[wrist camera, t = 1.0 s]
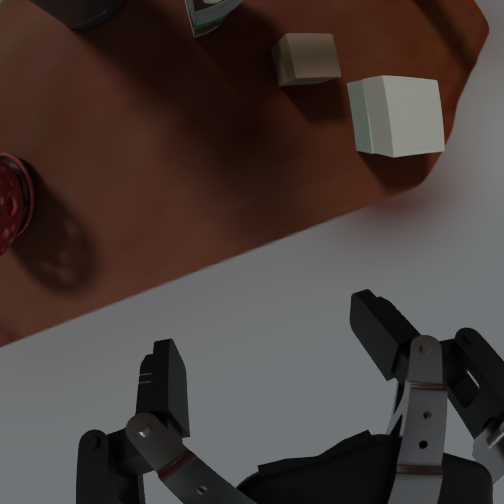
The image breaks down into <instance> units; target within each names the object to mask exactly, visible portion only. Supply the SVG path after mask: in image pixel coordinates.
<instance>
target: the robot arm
mask: <svg viewBox="0 0 504 504" xmlns="http://www.w3.org/2000/svg"><path fill="white" fill-rule="evenodd" d="M29 1H30V2H32V3H33V4H35V5H37V6H38V7H40V8H41V9H43V10H44V11H46V12H47V13H49V14H50V15H52V16H53V17H54V18H56V19H57V20H59V21H60V22H62V23H63V24H65V25H66V26H68V27H69V28H72V29H86V28H90V27H93V26H96V25H97V24H100V23H102V22H103V21H105V20H106V19H108V18H109V17H111V16H112V15H113V14H114V13H115V12H116V11H117V10H118V9H119V8H120V7H121V6H122V4H123V3H124V1H125V0H29ZM350 325H351V328H352V330H353V332H354V334H355V335H356V337H357V338H358V339H359V341H360V342H361V344H362V345H363V347H364V348H365V350H366V351H367V352H368V354H369V355H370V357H371V358H372V360H373V361H374V363H375V364H376V366H377V367H378V368H379V370H380V371H381V373H382V374H383V376H384V377H385V379H386V380H387V381H388V380H390V379H393V378H396V379H397V381H398V383H397V385H396V393H395V398H394V405H393V410H392V415H391V420H390V423H389V426H388V428H387V432H386V434H376V435H371V434H370V432H369V430H366V431H364V432H362V433H359V434H357V435H354V436H352V437H350V438H347V439H344V440H342V441H341V442H339V443H338V444H336V445H335V446H333V447H332V448H330V449H329V450H327V451H325V452H324V453H322V454H321V455H318V456H315V457H304V458H290V459H283V460H279V461H275V462H271V463H267V464H263V465H258V470H259V471H258V472H256V473H254V474H252V475H251V476H249V477H247V478H246V479H245V480H243V481H242V482H241V483H240V484H239V485H238V486H237V487H236V488H235V487H233V486H232V485H231V484H230V483H228V482H227V481H226V480H225V479H223V478H222V477H221V476H220V475H218V474H217V473H216V472H215V471H213V470H212V469H211V468H210V467H209V466H207V465H206V464H205V463H204V462H203V461H202V460H201V459H199V458H198V457H197V456H196V455H195V454H194V453H193V452H191V451H190V450H188V448H186V447H185V446H184V445H183V443H182V438H184V437H190V431H189V417H188V400H187V379H186V369H185V365H184V363H183V360H182V358H181V356H180V355H179V352H178V350H177V348H176V346H175V343H174V341H173V340H172V339H166V340H160V341H155V342H154V349H153V354H149V355H146V356H145V358H144V360H143V361H142V363H141V366H140V376H139V385H138V394H137V404H136V413H135V416H133V417H132V418H131V419H130V420H129V421H128V423H127V425H126V427H125V428H124V429H122V430H119V431H116V432H113V433H110V434H108V435H106V434H105V433H103V432H102V431H100V430H90V431H88V432H86V433H85V434H84V435H83V436H82V437H81V439H80V442H79V449H78V461H77V478H76V479H77V480H76V504H146V503H145V494H144V485H143V474H145V473H148V472H151V471H153V470H155V471H156V472H157V473H158V477H159V479H160V480H161V481H162V482H163V483H164V484H165V485H166V486H167V487H168V489H169V490H170V491H171V492H172V493H173V494H174V495H175V496H176V497H177V498H178V499H179V500H181V502H182V503H184V504H493V496H492V495H493V494H492V493H493V484H494V483H495V482H496V481H497V480H498V479H500V478H501V477H502V476H503V475H504V361H503V360H502V359H501V358H500V356H499V355H498V354H497V353H496V352H495V351H494V349H493V348H492V347H491V346H490V345H489V344H488V343H487V341H486V340H485V339H484V338H483V337H482V336H481V335H480V334H479V333H478V332H477V331H476V330H474V329H471V328H462V329H460V330H458V332H457V333H456V335H455V338H454V339H449V340H444V341H438V340H437V339H436V338H434V337H432V336H429V335H421V334H420V333H419V332H418V331H417V330H416V329H415V328H414V327H413V326H412V325H411V323H410V322H409V321H408V320H407V319H406V318H405V317H404V316H403V315H401V313H400V312H399V311H398V310H397V309H396V307H395V306H394V305H393V304H392V303H391V302H390V301H388V300H386V299H384V298H382V297H376V296H375V295H374V294H373V293H372V292H371V291H370V290H368V289H366V290H363V291H360V292H357V293H353V294H352V296H351V309H350ZM468 371H469V372H470V373H471V375H472V376H473V377H474V379H475V380H476V381H477V383H478V384H479V388H480V389H479V388H478V386H477V385H476V384H475V382H474V381H473V380H472V378H471V377H470V376H469V374H468V373H467V372H468ZM447 397H448V398H449V400H450V401H451V403H452V405H453V406H454V408H455V409H456V411H457V412H458V414H459V415H460V417H461V419H462V420H463V422H464V423H465V425H466V427H467V428H468V430H469V432H470V433H471V435H472V437H473V438H474V443H473V452H472V456H473V457H474V458H475V459H476V462H475V461H471V460H468V459H464V458H461V457H457V456H454V455H450V454H447V453H444V452H443V450H444V441H445V431H446V417H447Z"/></svg>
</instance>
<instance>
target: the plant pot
mask: <svg viewBox="0 0 504 504" xmlns="http://www.w3.org/2000/svg"><path fill="white" fill-rule="evenodd" d="M34 201H35V196H34V187H33V182H32V179H31V176H30V174H29V172H28V170H27V168H26V166H25V165H24V164H23V162H22V161H21V160H20V159H19V158H18V157H16V156H15V155H13V154H10V153H0V257H1V256H2V255H3V254H4V253H5V251H6V250H7V249H8V248H9V246H10V245H11V243H12V242H13V240H14V238H15V237H17V236H19V235H20V234H22V233H23V232H24V231H25V229H26V228H27V227H28V225H29V223H30V221H31V218H32V215H33V210H34Z"/></svg>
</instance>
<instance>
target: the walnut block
mask: <svg viewBox="0 0 504 504" xmlns="http://www.w3.org/2000/svg"><path fill="white" fill-rule="evenodd" d="M271 51H272V56H273V61H274V66H275V70H276V75H277V80H278V85H279V87H281V86H292V85H305V84H319V83H322V82H325V81H329V80H332V79H335V78H339V77H341V72H340V67H339V62H338V58H337V53H336V49H335V44H334V40H333V36H332V34H318V33H288V34H285V35H284V36H283V37H282V38H281V39H280V40H279V41H278V42H277V43H276V44H275V45H274V46H273V47H272V48H271Z"/></svg>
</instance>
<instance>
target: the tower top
mask: <svg viewBox="0 0 504 504" xmlns="http://www.w3.org/2000/svg"><path fill="white" fill-rule="evenodd" d="M362 81H363V86H364V91H365V97H366V103H367V109H368V115H369V122H370V130H371V137H372V146H373V153H377V154H381V155H385V156H390V157H400V156H407V155H415V154H423V153H431V152H440V151H445V146H444V131H443V120H442V111H441V103H440V96H439V89H438V83H437V80H429V79H421V78H411V77H398V76H377V77H371V78H366V79H362Z"/></svg>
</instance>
